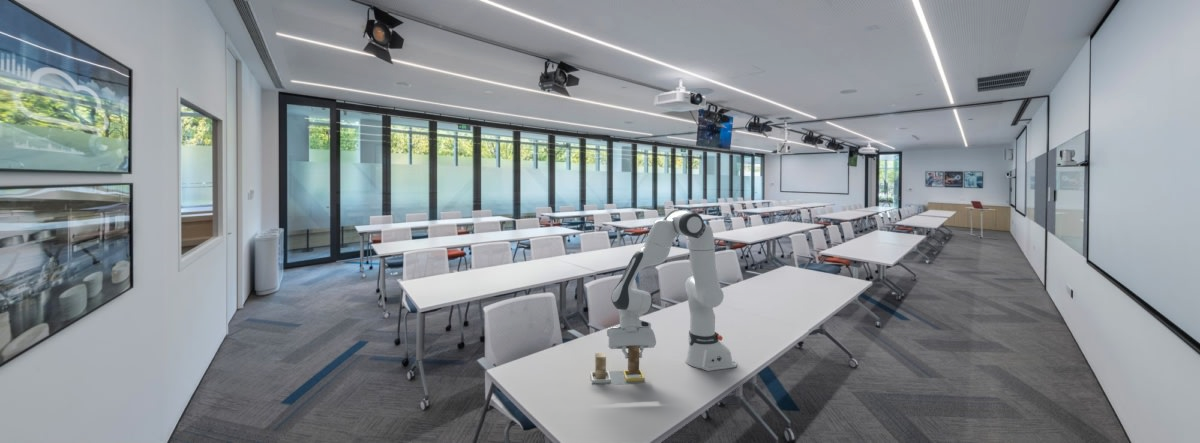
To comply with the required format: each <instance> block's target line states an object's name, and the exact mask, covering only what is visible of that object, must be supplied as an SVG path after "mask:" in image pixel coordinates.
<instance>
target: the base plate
mask: <svg viewBox="0 0 1200 443" xmlns="http://www.w3.org/2000/svg"><path fill="white" fill-rule="evenodd" d="M589 375H590V376H589V377H590V382H591V386H592V387H593V386H594V387H596V386H619V385H638V384H646V383H647V382H646V379H645V375H644V373H643V371H642V369H639V373H629V371H628V369H627V370H626V369H624V370H613V371H609V370H606V379H596V377H595V371H590V372H589Z"/></svg>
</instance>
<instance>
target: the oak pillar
mask: <svg viewBox="0 0 1200 443" xmlns="http://www.w3.org/2000/svg"><path fill="white" fill-rule="evenodd" d="M594 354H595V355H594V356H595V357H594V358H595V359H594V360H595V361H594V363H595V364H594V366H595V367H594V372H595V377H596V379H606V371H607V356H606V353H605V352H600V353H599V352H597V353H596V352H595V353H594Z"/></svg>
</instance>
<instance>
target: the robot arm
mask: <svg viewBox="0 0 1200 443" xmlns="http://www.w3.org/2000/svg"><path fill="white" fill-rule="evenodd" d="M679 235H680V236H686V237H687V239H688V244H689V245H688V246H689V248H688V250H689V265H690V266H689V267H690V269H691V272H692V275H691V276H689V277H688V278H687V279H686V281H685V285H684V287H685V291H686V294H687V301H688V302H687V303H688V308H689V315H690V317H689V331H688V349H687V350H688V351H687V354H686V357H685V363H686V364H687V365H690V366H691V367H694V368H697V369H702V370H704V371H707V372H711V371H718V370H724V369H730V368H731V369H732V368H736V367H737V361H736V359H735V358H734V357H733V356H732V354H731V351H730V348H728V346H726V345H725V344H724V343H722V342H721V341H722V340H723V336H722V335H721V334H719V333H718V332H717V331H716V314H715V312H714V309H713V308H717V307H719V306H720V305H721V304H723V303H722V302H723V300H724V296H725V295H724V291H723V290H722V288H721V284H720V280H719V276H718V272H717V268H716V249H715V248H716V247H715V246H716V244H715V238H714V233H713V230H712V227H711V226H710V225H709V224H707V223H705V222H704V219H703V218H702V216H701V215H700V214H699V213H698V212H696V211H691V210H688V209H674V210H672V211H670V212H668V214H667V215H666V216H665V217H664V218H661V219H657V220H655V221H654V222H653V225H652V227H651V228H650V230H649V232H648V235H647V237H646V240H645V242H644V245H643V246H642V248H641V249H640V250H638V251H635V253H634V254H633V255H632V257H631V258H630V260H629V263H628V265H627V267H626V268H625V270H624V272H623V274H622V276H621V278H620V280H619V282H618V283H617V285H616V286H615V288H614V289H613V290H612V293H611V298H610V299H611V302H612V304H613V306H614V307H615V309H617V310H618V315H619V326H612V327H609V328H607V329H606V336H607V337H608V344H607V345H608V346H607V347H608V348H609V349H610V350H621V352H622V353H623V355H624V358H625V359H628V358H629V353H628V351H626V349H627V350H628V346H638V347H639V359H642V358H643V352H644V349H651V348H652V349H654V348H655V347H656V345H657V339H656V335H655V331H654V330H653V329H652V324H651V322H648V321H646V320H642V319H640V316H643V315H645V314H646V313H648V312H649V311H650V310H651V309H652V308H653V305H654V304H653V297H652V295H651V293H650V292H648V291H646V290H641V289H637V288H633V287H632V286H633V283H634V282H635V280H636V277H637V276H638V273H639V272H640V271H641V270H642V269H644V268H646V267H650V266H657V265H660V264H662V263H664V262H665V261H666V260H667V259H668V257H669V255H670V253H671V252H670V251H671V247H672V245H673V241H674V240H675V239H676V238H677V236H679Z"/></svg>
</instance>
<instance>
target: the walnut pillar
mask: <svg viewBox="0 0 1200 443" xmlns="http://www.w3.org/2000/svg"><path fill="white" fill-rule="evenodd" d="M627 353H629V358H627V370H628V371H629V373H639V370H640V358H639V353H640V348H639V347H638V346H628V349H627Z"/></svg>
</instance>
